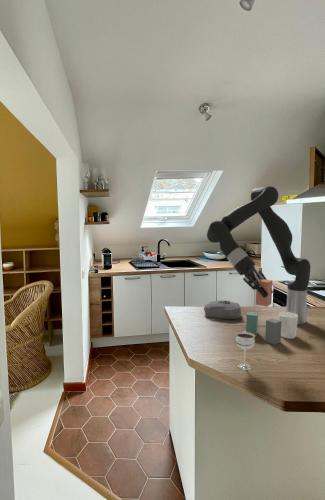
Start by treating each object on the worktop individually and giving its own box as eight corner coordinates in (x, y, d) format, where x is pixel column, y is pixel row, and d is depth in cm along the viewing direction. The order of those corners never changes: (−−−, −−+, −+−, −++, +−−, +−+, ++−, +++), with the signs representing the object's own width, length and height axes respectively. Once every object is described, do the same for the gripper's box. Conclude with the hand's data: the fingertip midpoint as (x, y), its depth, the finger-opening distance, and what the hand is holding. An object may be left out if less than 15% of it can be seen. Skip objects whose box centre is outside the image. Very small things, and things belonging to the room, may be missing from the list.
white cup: (296, 333, 140) (297, 313, 139) (297, 340, 132) (298, 318, 131) (277, 331, 142) (278, 311, 141) (278, 338, 135) (279, 316, 134)
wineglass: (251, 373, 104) (252, 340, 103) (232, 368, 108) (233, 336, 107) (256, 365, 110) (257, 333, 109) (238, 360, 114) (239, 330, 112)
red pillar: (260, 301, 121) (261, 278, 120) (271, 304, 118) (272, 280, 117) (255, 304, 118) (256, 280, 117) (267, 306, 115) (268, 282, 114)
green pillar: (247, 331, 143) (248, 311, 142) (257, 332, 141) (258, 313, 140) (245, 334, 139) (246, 314, 138) (256, 336, 137) (256, 316, 136)
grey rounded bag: (239, 312, 172) (203, 310, 175) (239, 298, 171) (204, 296, 174) (241, 321, 157) (203, 319, 160) (242, 305, 156) (203, 304, 159)
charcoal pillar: (271, 338, 134) (272, 318, 133) (280, 342, 130) (281, 321, 129) (265, 341, 131) (266, 320, 130) (274, 344, 128) (275, 323, 127)
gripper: (239, 257, 115) (269, 293, 109) (254, 253, 126) (282, 286, 120) (226, 269, 119) (254, 304, 113) (242, 264, 130) (268, 296, 124)
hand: (268, 294), depth 117 cm, fingers closed on red pillar, 4 cm apart
